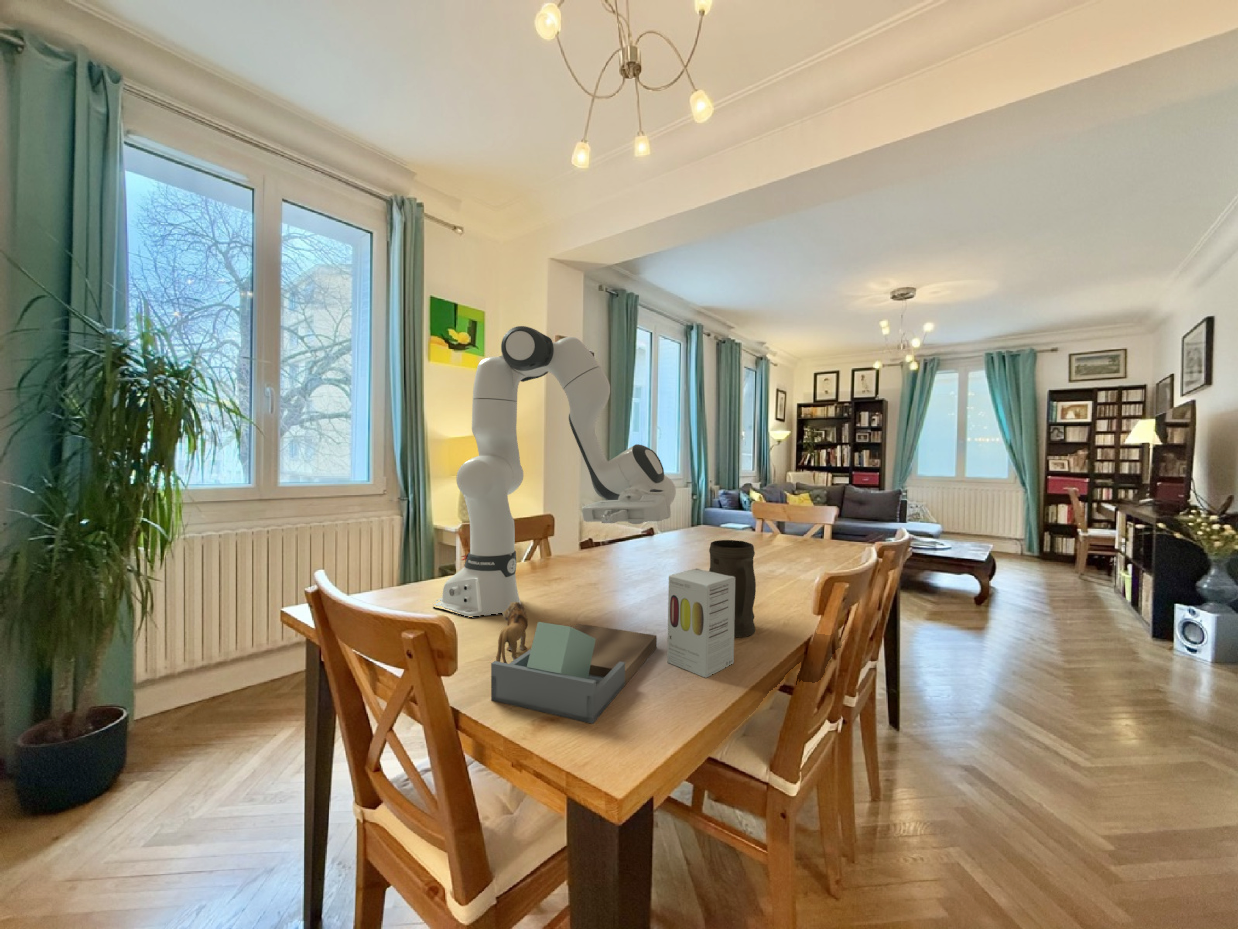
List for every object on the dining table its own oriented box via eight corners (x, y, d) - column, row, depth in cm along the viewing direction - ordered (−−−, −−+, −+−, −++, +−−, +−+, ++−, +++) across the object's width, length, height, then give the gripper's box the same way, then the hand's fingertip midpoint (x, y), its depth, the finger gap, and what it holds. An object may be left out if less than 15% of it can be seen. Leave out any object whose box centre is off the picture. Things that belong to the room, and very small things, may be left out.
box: (491, 700, 80) (491, 663, 80) (534, 668, 92) (534, 635, 92) (592, 723, 73) (593, 683, 73) (624, 685, 85) (625, 650, 85)
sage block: (556, 675, 87) (526, 667, 78) (565, 634, 90) (537, 621, 81) (587, 681, 85) (560, 673, 76) (595, 638, 88) (570, 626, 79)
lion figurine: (503, 642, 104) (503, 599, 104) (528, 641, 105) (529, 599, 105) (492, 673, 90) (492, 623, 90) (522, 672, 90) (522, 623, 90)
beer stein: (695, 623, 116) (699, 539, 114) (733, 617, 120) (738, 536, 119) (735, 652, 102) (740, 557, 100) (777, 644, 106) (782, 553, 105)
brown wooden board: (534, 668, 92) (534, 654, 92) (577, 635, 109) (578, 623, 108) (624, 685, 85) (624, 671, 85) (656, 647, 102) (656, 635, 102)
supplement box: (665, 662, 95) (666, 574, 94) (694, 649, 101) (695, 567, 101) (707, 679, 88) (708, 584, 87) (735, 663, 94) (736, 575, 94)
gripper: (598, 493, 123) (565, 506, 111) (673, 490, 113) (646, 504, 101) (602, 517, 124) (569, 533, 112) (677, 517, 113) (650, 534, 102)
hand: (606, 519), depth 106 cm, fingers closed
